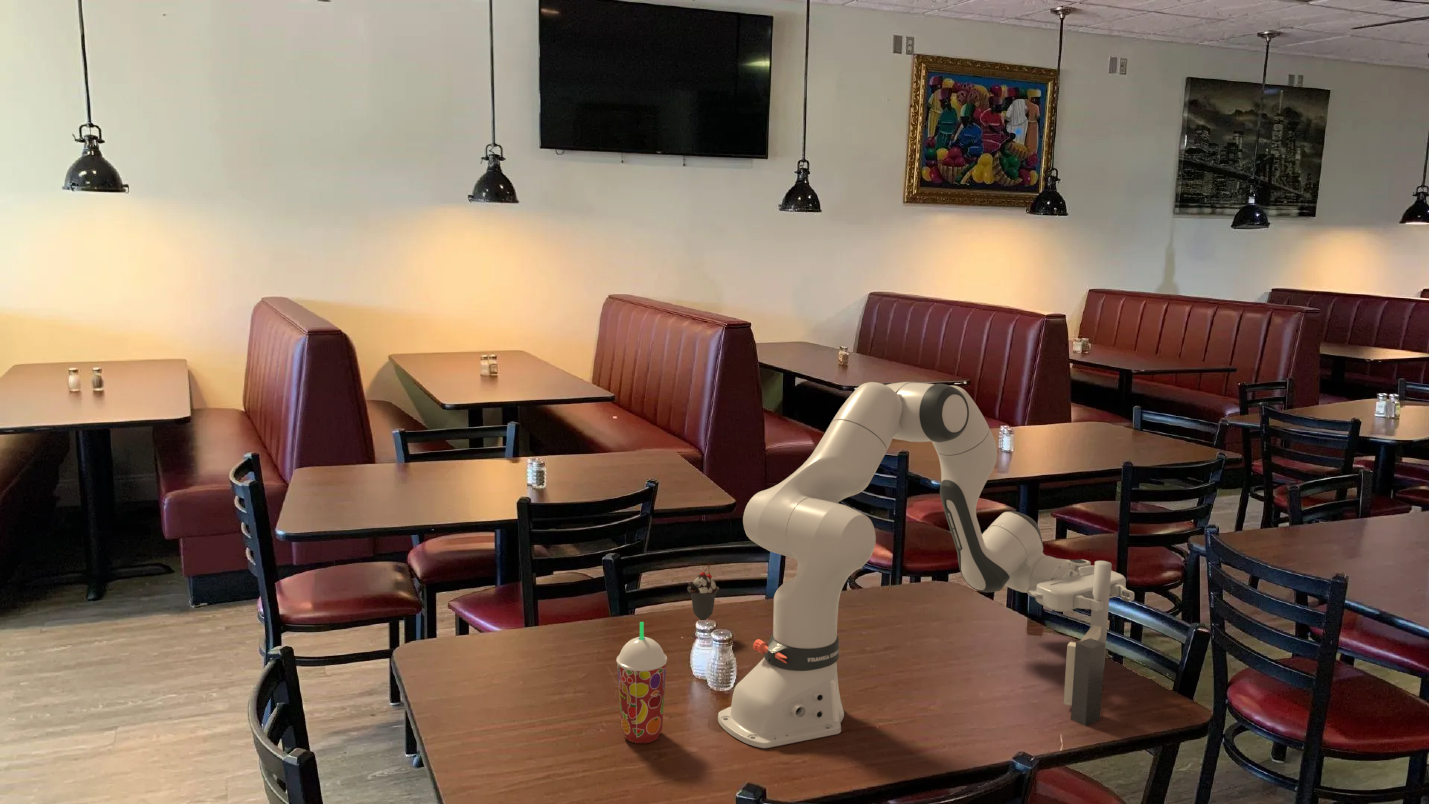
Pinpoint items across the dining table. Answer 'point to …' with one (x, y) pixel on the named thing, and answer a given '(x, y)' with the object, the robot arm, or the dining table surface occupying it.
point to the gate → (1097, 623)
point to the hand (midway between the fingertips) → (1116, 601)
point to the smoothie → (641, 688)
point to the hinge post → (1087, 681)
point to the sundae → (703, 595)
